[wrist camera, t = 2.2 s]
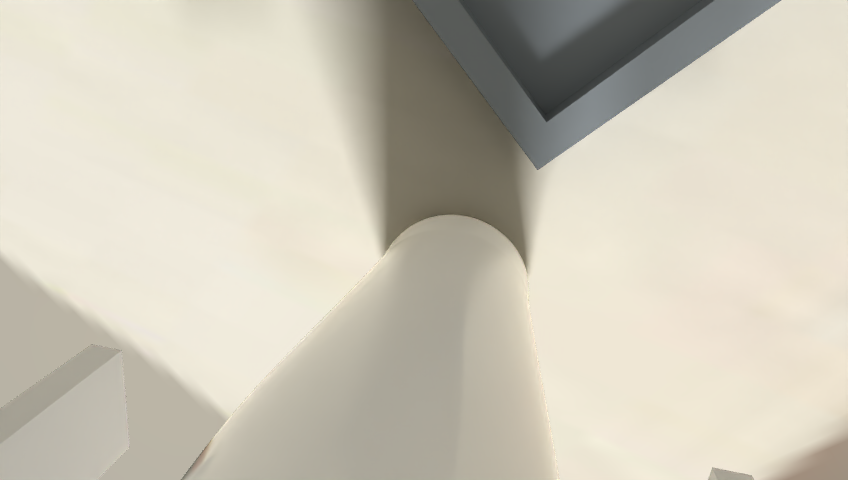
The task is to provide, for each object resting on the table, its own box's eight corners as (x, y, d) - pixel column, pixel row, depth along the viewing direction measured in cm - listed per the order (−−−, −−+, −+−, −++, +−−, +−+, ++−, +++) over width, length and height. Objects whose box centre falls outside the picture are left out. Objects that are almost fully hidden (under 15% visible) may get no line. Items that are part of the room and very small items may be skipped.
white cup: (330, 258, 22) (-22, 656, 8) (471, 150, 20) (319, 445, 6) (441, 388, 23) (301, 937, 9) (587, 300, 21) (700, 857, 7)
